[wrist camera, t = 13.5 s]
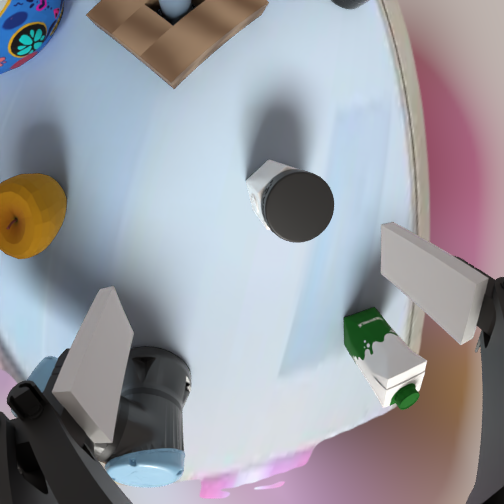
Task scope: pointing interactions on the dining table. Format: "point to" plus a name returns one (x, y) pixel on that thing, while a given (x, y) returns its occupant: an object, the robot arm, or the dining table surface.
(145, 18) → the socket block
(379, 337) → the milk carton
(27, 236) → the apple
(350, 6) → the supplement bottle
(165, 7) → the dowel
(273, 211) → the jar
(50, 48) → the dining table surface
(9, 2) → the ceramic pot
